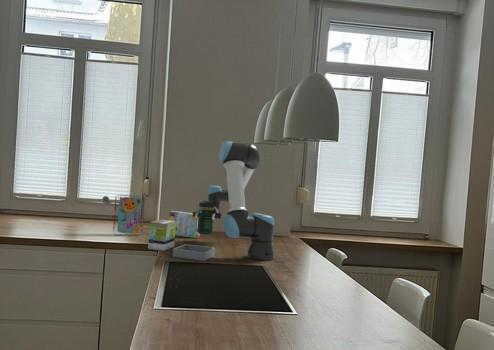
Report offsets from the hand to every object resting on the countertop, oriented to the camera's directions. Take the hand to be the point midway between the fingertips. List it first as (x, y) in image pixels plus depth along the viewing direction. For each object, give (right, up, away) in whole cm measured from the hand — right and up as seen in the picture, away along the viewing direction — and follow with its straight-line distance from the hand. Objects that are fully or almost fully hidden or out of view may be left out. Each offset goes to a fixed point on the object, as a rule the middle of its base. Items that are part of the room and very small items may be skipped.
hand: (204, 216), depth 281 cm
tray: (-4, -19, -15) cm, 25 cm away
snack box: (-17, -16, +48) cm, 54 cm away
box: (-54, -14, +32) cm, 64 cm away
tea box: (-24, -17, 0) cm, 29 cm away
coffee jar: (0, -10, +5) cm, 11 cm away
